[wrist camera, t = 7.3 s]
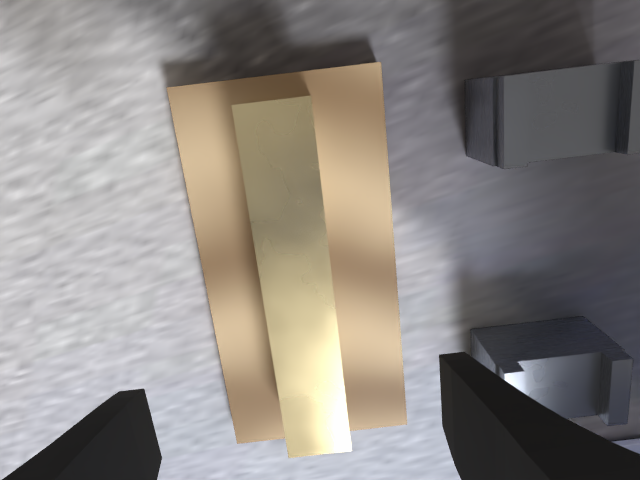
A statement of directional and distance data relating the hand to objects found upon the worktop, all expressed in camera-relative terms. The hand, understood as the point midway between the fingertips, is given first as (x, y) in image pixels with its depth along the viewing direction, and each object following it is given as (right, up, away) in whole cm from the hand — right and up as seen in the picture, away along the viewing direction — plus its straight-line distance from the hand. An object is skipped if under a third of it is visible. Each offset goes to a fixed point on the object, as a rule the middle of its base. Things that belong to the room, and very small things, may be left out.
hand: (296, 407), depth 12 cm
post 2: (+10, -1, +11) cm, 15 cm away
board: (0, +3, +9) cm, 10 cm away
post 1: (+9, +9, +8) cm, 15 cm away
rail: (0, +3, +8) cm, 9 cm away
